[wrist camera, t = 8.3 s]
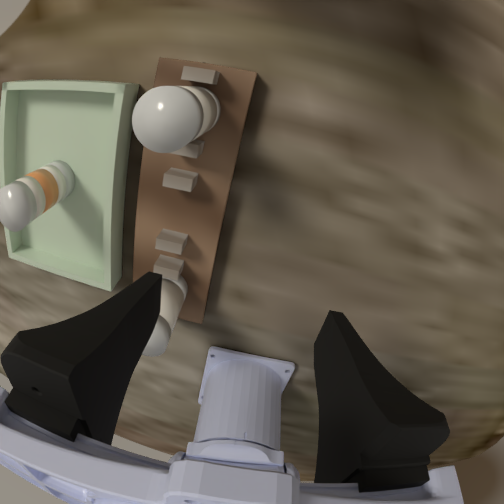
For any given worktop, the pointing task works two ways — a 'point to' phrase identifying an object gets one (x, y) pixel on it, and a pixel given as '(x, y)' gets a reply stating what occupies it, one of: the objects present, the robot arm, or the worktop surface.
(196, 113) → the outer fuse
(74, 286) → the worktop surface
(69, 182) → the marked fuse
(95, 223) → the tray
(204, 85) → the fuse holder
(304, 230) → the worktop surface
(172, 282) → the cylinder
